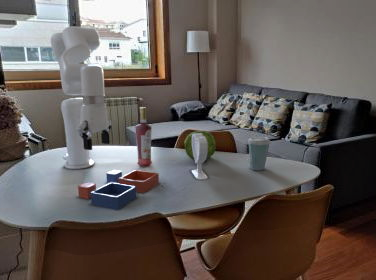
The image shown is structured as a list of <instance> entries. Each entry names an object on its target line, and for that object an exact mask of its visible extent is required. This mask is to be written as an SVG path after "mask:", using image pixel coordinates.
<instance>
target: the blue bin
mask: <svg viewBox="0 0 376 280" xmlns="http://www.w3.org/2000/svg"><path fill="white" fill-rule="evenodd" d="M136 199H137V192H136V186H130V185H124V184H119V183H112V182H110V183H107V184H105V185H103V186H101V187H99V188H96V190H95V191H93V192H91V198H90V204H91V205H92V206H97V207H103V208H108V209H113V210H116V211H117V210H120V209H121V208H123V207H124V206H126V205H128V204H129V203H130V202H132V201H134V200H136Z"/></svg>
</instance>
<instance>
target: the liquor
mask: <svg viewBox="0 0 376 280" xmlns="http://www.w3.org/2000/svg"><path fill="white" fill-rule="evenodd" d="M139 113H140V116H139V118H140V119H139V123H138V124H137V125H136V126H135V128H134V129H135V141H136V149H137V163H136V164H137V165H138V166H139V167H142V168H147V167H150V166H151V165H152V164H153V161H152V126H151V125H150V124H148V122H147V116H146V113H147V107H146V106H139Z"/></svg>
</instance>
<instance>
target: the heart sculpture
mask: <svg viewBox="0 0 376 280" xmlns="http://www.w3.org/2000/svg"><path fill="white" fill-rule="evenodd" d="M192 150H193V155H194V159H193V160H194V163H195V164H196V169H192V170H191V173H192V175H193V176H194V177H195V178H196V179H197V180H207V179H208V176H207V175H206V173H205V172H204V171H203V170H202V169H203V168H202V167H203V165H202V164H204V163H205V161H206V160H207V159H206V158H207V151H208V143H207V139H206V137H205V136H203V135H202V133H199V134H192Z"/></svg>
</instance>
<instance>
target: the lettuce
mask: <svg viewBox="0 0 376 280" xmlns="http://www.w3.org/2000/svg"><path fill="white" fill-rule="evenodd" d="M199 133H202V135H203V136H205V137H206V139H207V143H208V151H207V158H206V160H207V159H210V158H212V156H213V155H214V154H215V152H216V149H217V148H216V147H217V145H216V140H215V137H214V136H213V135H212V134H211V132H209V131H206V130H195V131H193V132H191V133H190V134H188V135H187V136H186V138H185V140H184V150H185V153H186V155H187V156H188V158H190V159H192V160H194V155H193V150H192V134H199Z"/></svg>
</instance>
